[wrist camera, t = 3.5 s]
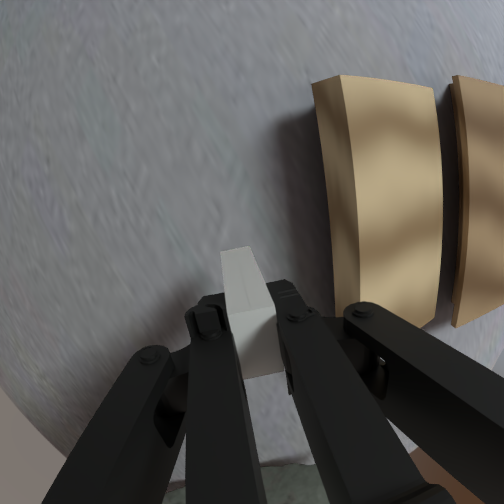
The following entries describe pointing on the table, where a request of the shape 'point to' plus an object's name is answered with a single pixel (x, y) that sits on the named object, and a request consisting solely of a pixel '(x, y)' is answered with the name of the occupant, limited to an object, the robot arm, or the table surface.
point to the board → (479, 198)
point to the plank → (382, 193)
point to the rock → (280, 486)
